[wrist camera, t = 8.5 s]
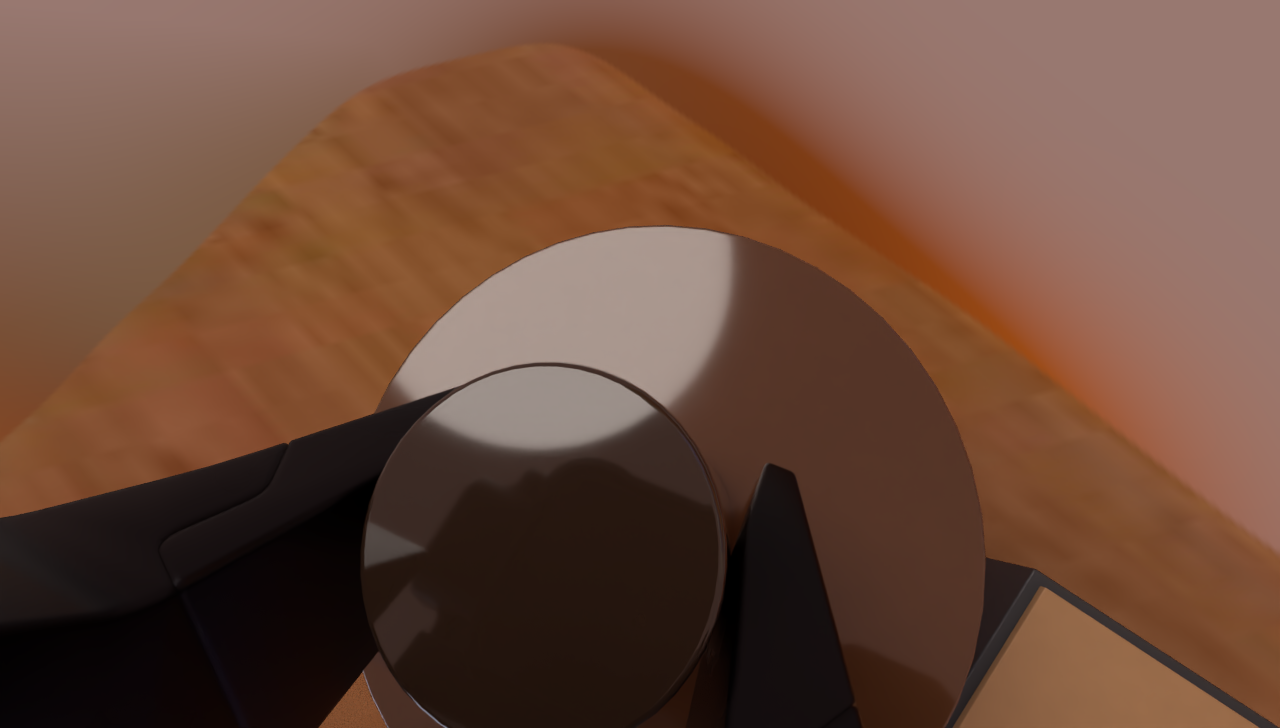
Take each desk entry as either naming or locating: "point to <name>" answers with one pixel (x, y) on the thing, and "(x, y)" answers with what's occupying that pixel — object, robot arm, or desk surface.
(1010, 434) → the desk surface
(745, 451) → the lid
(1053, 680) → the stand
